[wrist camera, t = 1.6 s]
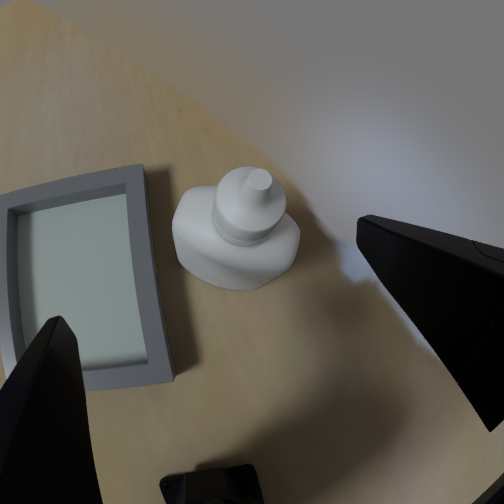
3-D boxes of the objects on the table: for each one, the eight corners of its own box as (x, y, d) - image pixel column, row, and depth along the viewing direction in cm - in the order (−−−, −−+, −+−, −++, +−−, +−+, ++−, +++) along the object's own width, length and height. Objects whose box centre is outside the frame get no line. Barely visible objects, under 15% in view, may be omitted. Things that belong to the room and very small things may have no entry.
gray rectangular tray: (175, 376, 18) (173, 381, 16) (23, 388, 16) (9, 393, 14) (146, 177, 21) (142, 163, 19) (9, 205, 18) (-4, 196, 16)
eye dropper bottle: (227, 316, 20) (274, 304, 8) (168, 250, 20) (140, 156, 9) (275, 271, 21) (369, 206, 9) (218, 209, 21) (249, 88, 10)
